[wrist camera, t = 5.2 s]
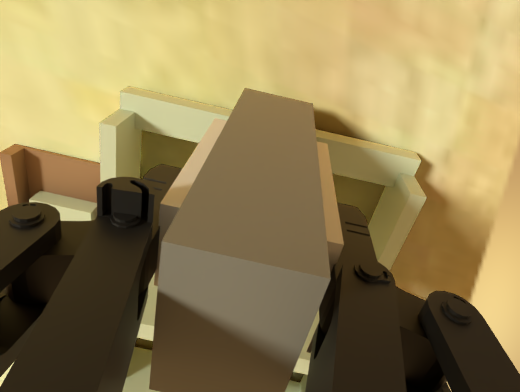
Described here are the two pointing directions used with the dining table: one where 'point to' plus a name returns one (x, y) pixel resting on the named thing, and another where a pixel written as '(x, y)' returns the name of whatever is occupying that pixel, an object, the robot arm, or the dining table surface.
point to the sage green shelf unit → (247, 238)
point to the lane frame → (47, 174)
